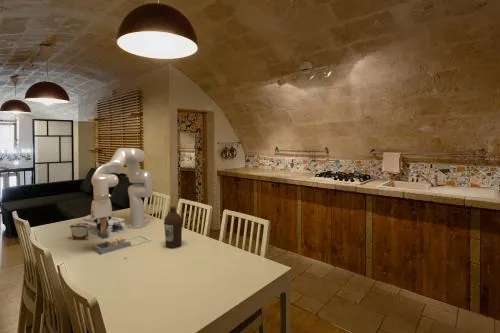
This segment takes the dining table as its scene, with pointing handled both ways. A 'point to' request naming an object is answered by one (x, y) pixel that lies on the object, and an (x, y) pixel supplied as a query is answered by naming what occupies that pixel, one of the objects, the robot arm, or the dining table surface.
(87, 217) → the aluminum extrusion profile
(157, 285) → the dining table surface
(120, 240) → the block
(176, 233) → the olive oil
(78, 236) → the food container
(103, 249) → the channel
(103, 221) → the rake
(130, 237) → the tray
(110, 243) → the block
